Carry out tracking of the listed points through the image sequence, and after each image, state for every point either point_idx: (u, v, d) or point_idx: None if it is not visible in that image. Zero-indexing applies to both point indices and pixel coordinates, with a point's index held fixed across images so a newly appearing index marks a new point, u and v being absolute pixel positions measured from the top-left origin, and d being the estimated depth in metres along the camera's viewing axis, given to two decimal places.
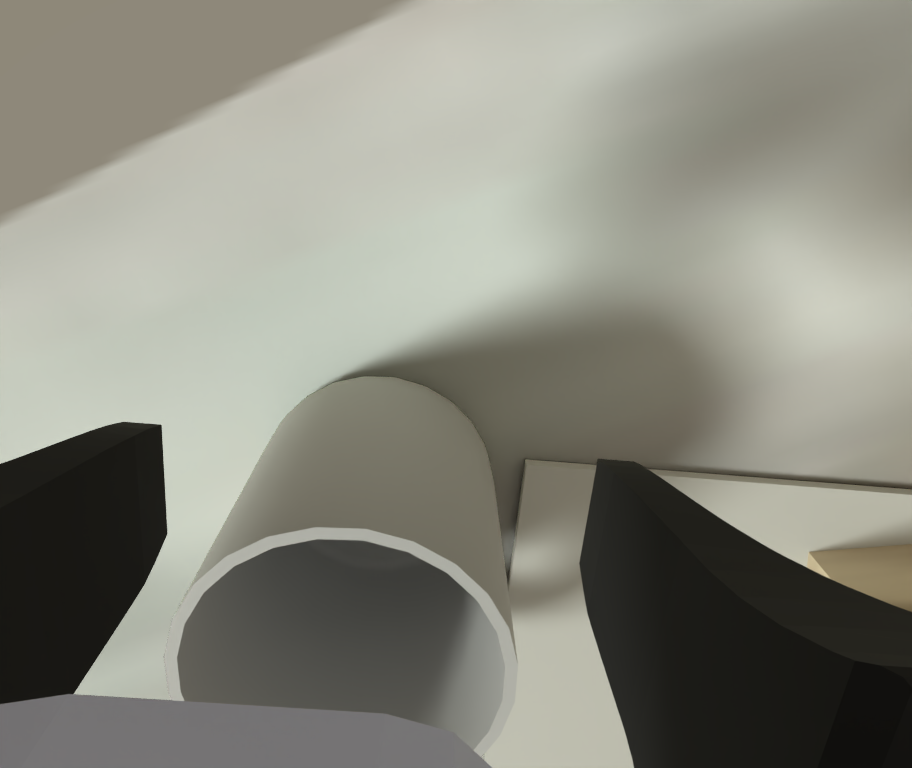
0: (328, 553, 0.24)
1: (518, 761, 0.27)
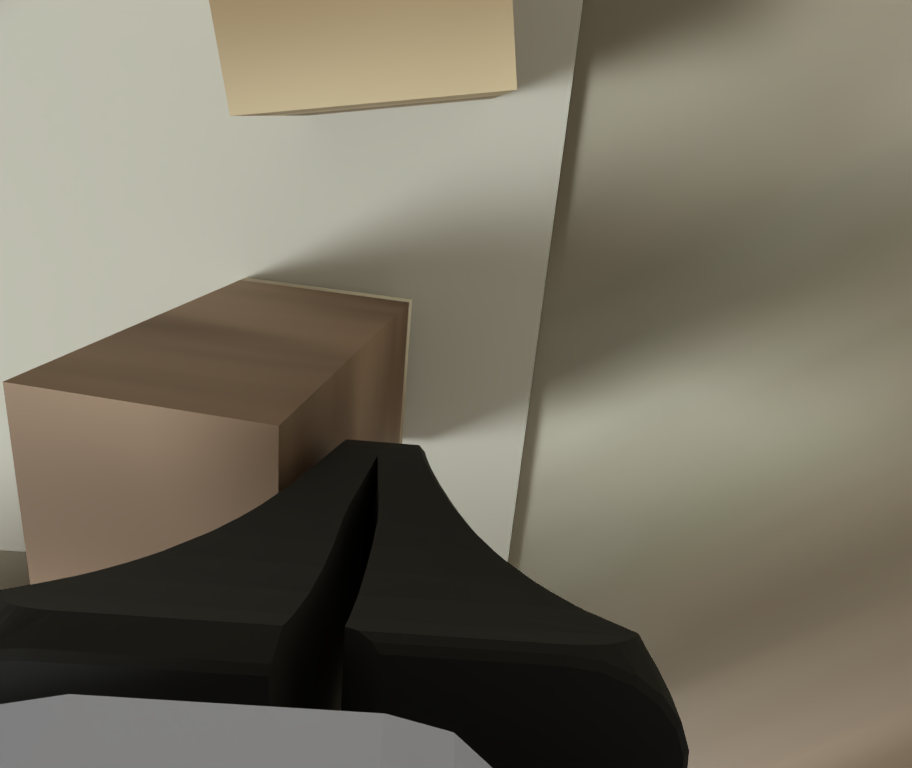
0: None
1: None
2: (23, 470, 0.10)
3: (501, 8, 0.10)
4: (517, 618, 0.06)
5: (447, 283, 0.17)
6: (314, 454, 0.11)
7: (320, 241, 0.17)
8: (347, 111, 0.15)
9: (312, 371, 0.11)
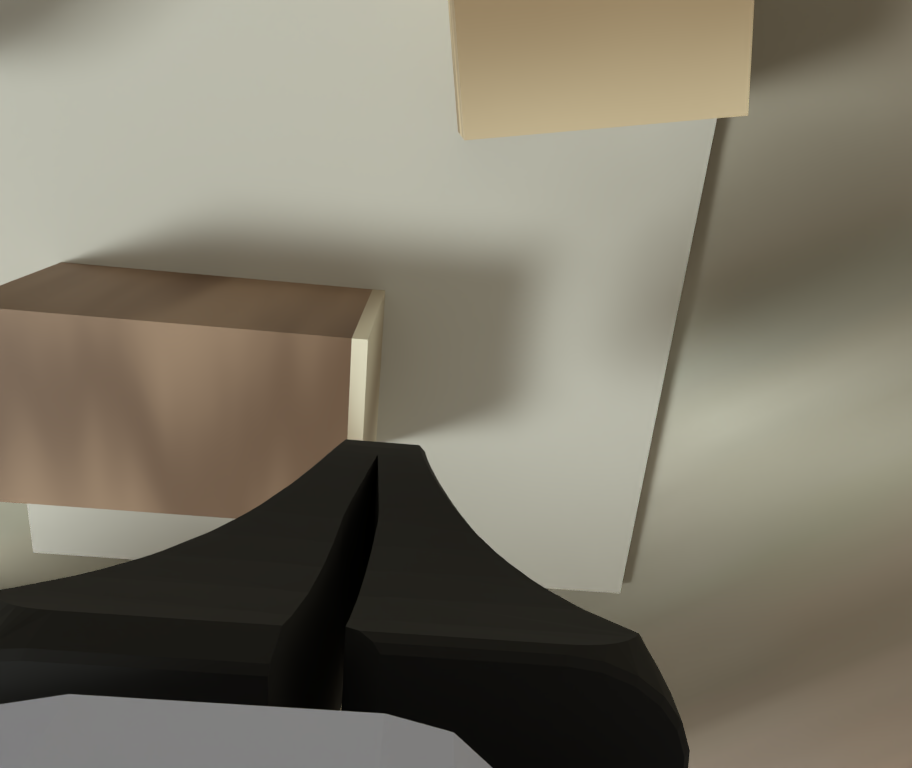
0: None
1: None
2: None
3: (741, 36, 0.10)
4: (517, 618, 0.06)
5: (583, 296, 0.17)
6: (33, 365, 0.13)
7: (461, 255, 0.17)
8: None
9: (79, 310, 0.13)
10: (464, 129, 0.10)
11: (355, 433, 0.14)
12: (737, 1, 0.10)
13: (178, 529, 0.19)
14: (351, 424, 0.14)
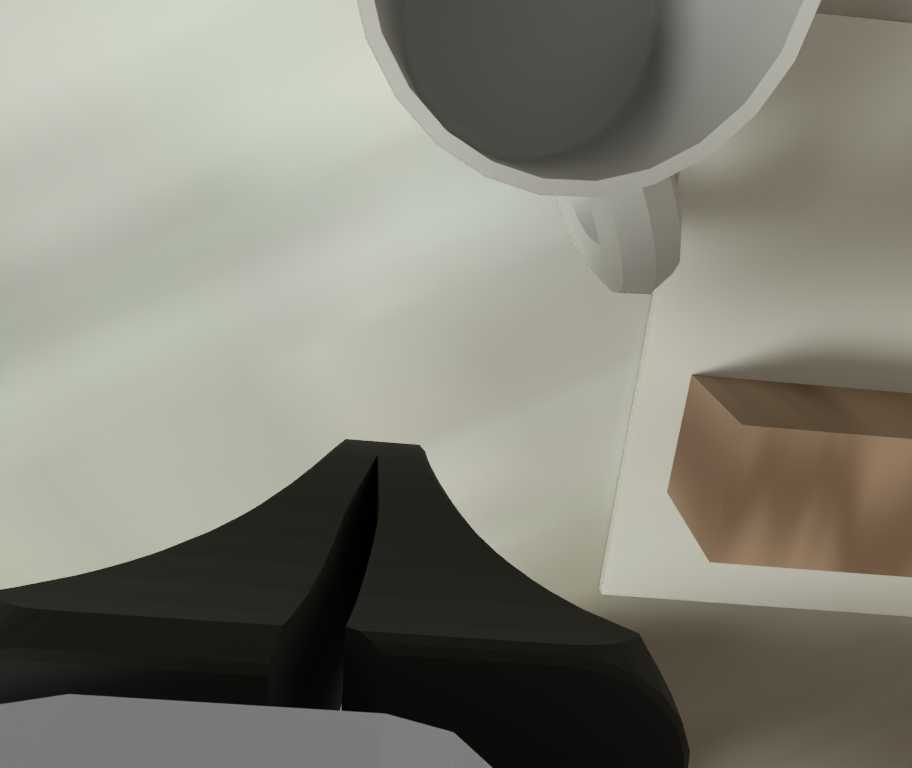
0: (462, 135, 0.20)
1: (670, 440, 0.23)
2: (684, 417, 0.22)
3: None
4: (518, 618, 0.06)
5: None
6: (784, 466, 0.19)
7: None
8: None
9: (818, 426, 0.19)
10: None
11: None
12: None
13: (721, 576, 0.24)
14: None
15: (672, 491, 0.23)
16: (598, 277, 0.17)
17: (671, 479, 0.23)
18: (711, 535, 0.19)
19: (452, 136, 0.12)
